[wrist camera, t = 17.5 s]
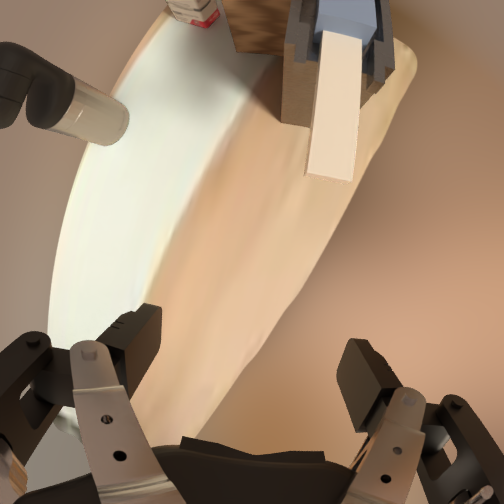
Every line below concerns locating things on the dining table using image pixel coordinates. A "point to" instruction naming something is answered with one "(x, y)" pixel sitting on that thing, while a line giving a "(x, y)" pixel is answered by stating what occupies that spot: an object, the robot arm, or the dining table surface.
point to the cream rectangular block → (338, 86)
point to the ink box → (195, 11)
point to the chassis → (306, 60)
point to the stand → (258, 25)
